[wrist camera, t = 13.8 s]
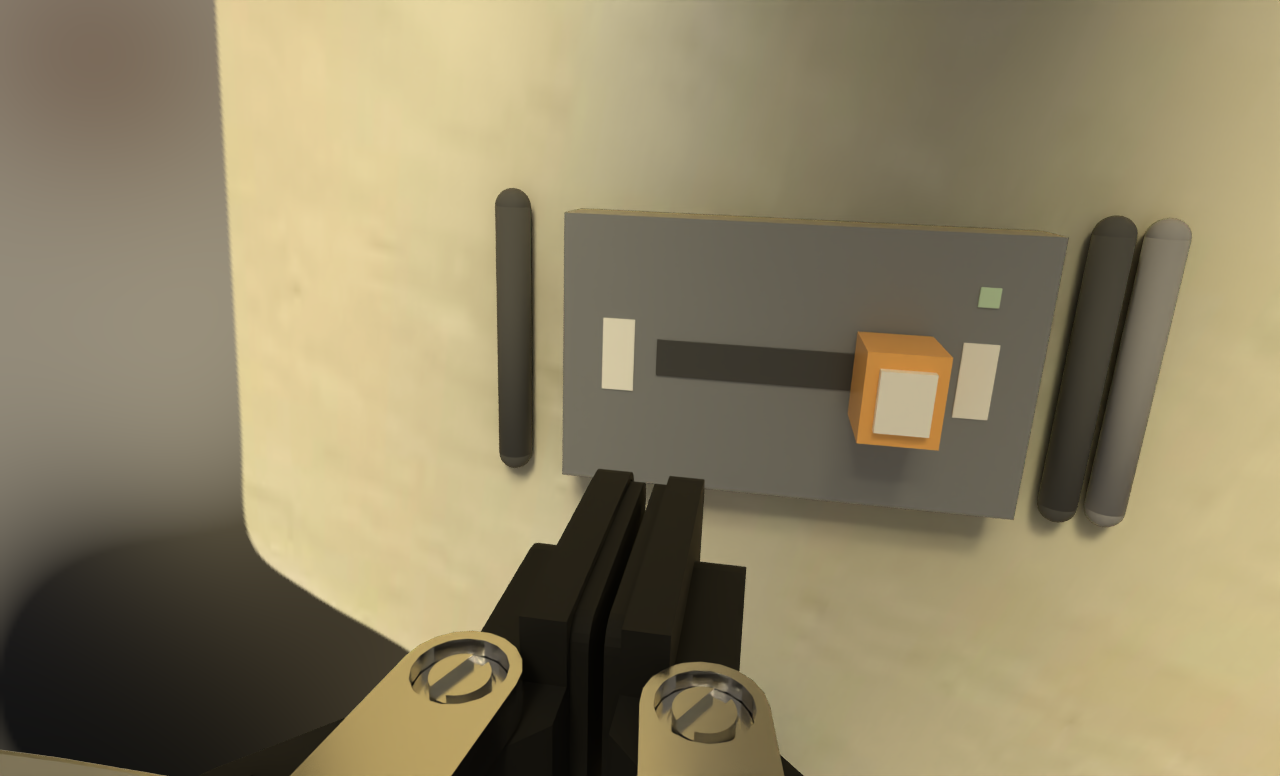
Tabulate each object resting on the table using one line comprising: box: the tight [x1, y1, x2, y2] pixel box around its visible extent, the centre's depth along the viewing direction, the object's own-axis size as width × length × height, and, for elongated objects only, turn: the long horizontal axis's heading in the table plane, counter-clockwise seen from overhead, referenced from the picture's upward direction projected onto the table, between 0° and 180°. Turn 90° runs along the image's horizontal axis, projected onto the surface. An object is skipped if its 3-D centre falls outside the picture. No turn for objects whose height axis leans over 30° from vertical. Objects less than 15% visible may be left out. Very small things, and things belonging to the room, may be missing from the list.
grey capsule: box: [1037, 216, 1138, 522], centre depth 33 cm, size 14×2×2 cm, turn 178°
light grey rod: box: [1084, 218, 1192, 527], centre depth 33 cm, size 14×2×2 cm, turn 178°
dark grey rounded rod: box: [495, 188, 532, 468], centre depth 37 cm, size 14×2×2 cm, turn 178°
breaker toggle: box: [848, 331, 953, 451], centre depth 30 cm, size 4×3×4 cm
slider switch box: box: [562, 208, 1069, 520], centre depth 34 cm, size 12×20×3 cm, turn 88°
